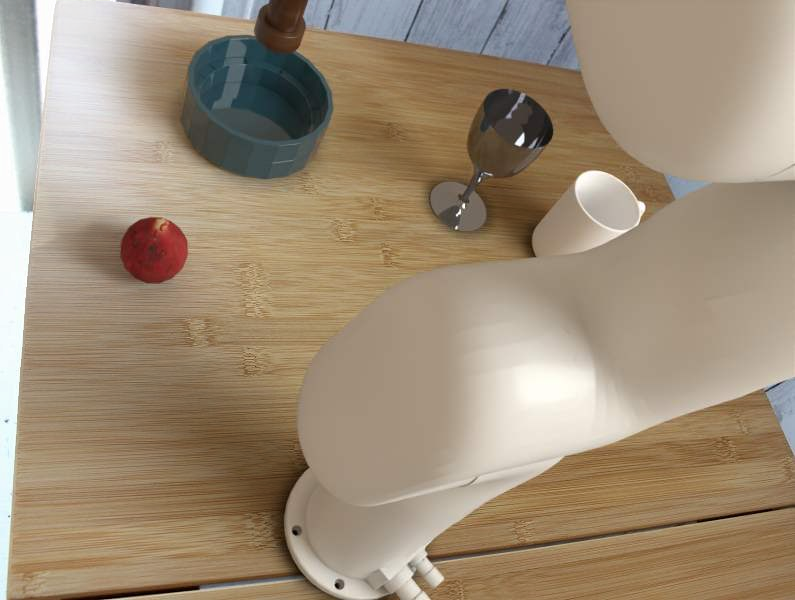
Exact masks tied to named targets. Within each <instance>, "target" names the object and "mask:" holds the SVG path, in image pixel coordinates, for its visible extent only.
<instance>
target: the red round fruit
mask: <svg viewBox="0 0 795 600" xmlns="http://www.w3.org/2000/svg"><path fill="white" fill-rule="evenodd" d="M188 245H189V244H188V238H187V237H186V235H185V233H184V232H183V230H182V229H181V228H180V227H179V226H178V225H177V224H175V223H174V222H173V221H171V220H168V219H166V218H164V217H157V216H149V217H145V218H140V219H138V220H137V221H135V222H134V223H132V224H131V225H130V226H129V227H128V228H127V229H126V231H125V232H124V235H123V236H122V239H121V242H120V250H119V255H120V259H121V262H122V265H123V267H124V268H125V270H126V271H127V272H128V273H129V274H130V276H132V277H133V278H134V279H136V280H138V281H140V282H143V283H145V284H161V283H164V282H166V281H167V282H168V281H169V280H172V279H173V278H174V277H176V276H177V275H178V274H179V273H181V271H182V270H183V269H184V267H185V264H186V262H187V259H188V256H189V255H188V254H189V247H188Z"/></svg>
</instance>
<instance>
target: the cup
mask: <svg viewBox="0 0 795 600" xmlns="http://www.w3.org/2000/svg"><path fill="white" fill-rule="evenodd" d="M645 211H646V205H645V203H644V202H643V201H641V200H638V199H637V196H636V195H635V194H634V192H633V191H632V190H631V188H630V187H629V186H628V185H626V184H625V182H623V181H622V180H621V179H620V178H618V177H616V176H614V175H612V174H611V173H608V172H605V171H602V170H593V169H592V170H587V171H583V172H582V173H581V174H579V175H578V176H577V177H576V178H575V179H574V181H573V182H572V183H571V184H570V186H569V187H568V188H567V189H566V190H565V191H564V193H563V194H562V195H561V196H560V197H559V199H558V200H557V201H556V202H555V203H554V205H553V206H552V207H551V208H550V210H549V211H548V212H547V213H546V214H545V215H544V216H543V218H542V219H541V220H540V221H539V223H538V224H537V225H536V227H535V228H534V230H533V231H532V232H533V233H532V237H531V247H532V251H533V253H534V256H535V257H543V256H553V255H563V254H572V253H578V252H583V251H587V250H590V249H592V248H595V247H597V246H600V245H602V244H604V243H606V242H608V241H610V240H612V239H614V238H616V237H618V236H620V235H621V234H623V233H625V232H627V231H628V230H630V229H632V228H634V227H635V226H637V225H639V224H640V221H641V218H642V216H643V215H644V213H645Z"/></svg>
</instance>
